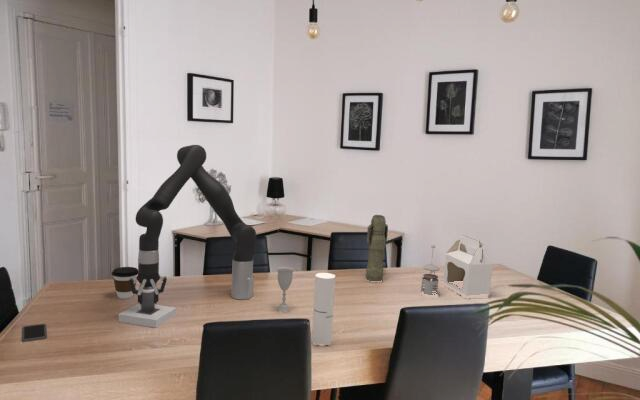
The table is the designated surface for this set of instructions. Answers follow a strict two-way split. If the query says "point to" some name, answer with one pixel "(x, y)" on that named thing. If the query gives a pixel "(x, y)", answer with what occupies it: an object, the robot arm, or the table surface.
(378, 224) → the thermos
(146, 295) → the lens
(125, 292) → the coffee cup
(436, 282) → the french press
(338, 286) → the table surface
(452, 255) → the gable box
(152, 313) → the plate
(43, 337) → the cell phone
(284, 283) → the chalice
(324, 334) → the cylindrical container
